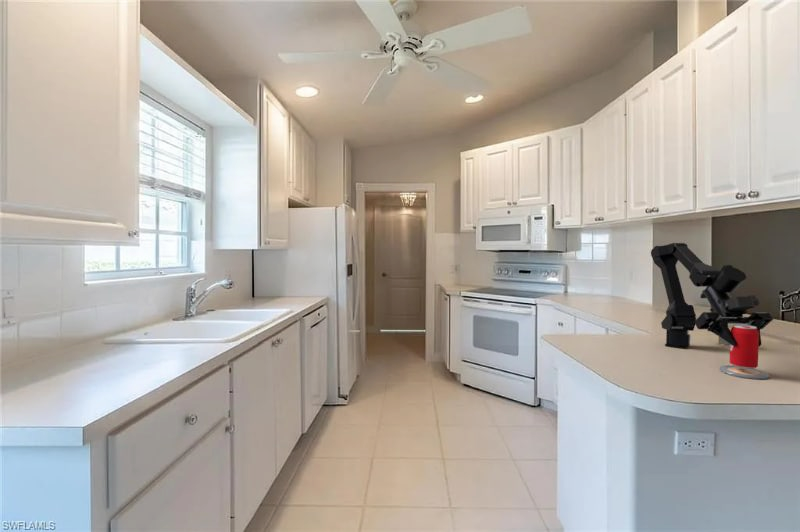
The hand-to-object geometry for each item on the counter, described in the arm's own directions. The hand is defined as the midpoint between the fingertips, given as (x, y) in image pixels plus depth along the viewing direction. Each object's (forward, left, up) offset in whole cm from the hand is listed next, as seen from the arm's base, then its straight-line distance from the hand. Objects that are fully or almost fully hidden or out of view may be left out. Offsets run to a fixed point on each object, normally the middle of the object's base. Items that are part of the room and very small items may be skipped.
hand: (747, 345), depth 112 cm
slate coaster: (-1, +1, -8) cm, 9 cm away
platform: (-7, +38, -9) cm, 39 cm away
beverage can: (-1, +1, -7) cm, 7 cm away
